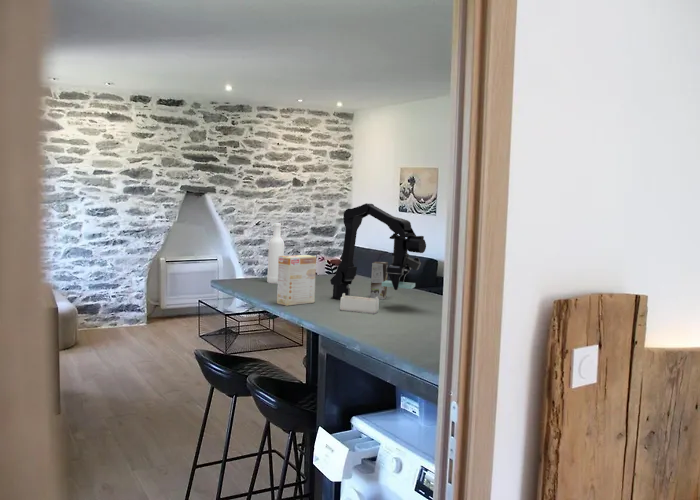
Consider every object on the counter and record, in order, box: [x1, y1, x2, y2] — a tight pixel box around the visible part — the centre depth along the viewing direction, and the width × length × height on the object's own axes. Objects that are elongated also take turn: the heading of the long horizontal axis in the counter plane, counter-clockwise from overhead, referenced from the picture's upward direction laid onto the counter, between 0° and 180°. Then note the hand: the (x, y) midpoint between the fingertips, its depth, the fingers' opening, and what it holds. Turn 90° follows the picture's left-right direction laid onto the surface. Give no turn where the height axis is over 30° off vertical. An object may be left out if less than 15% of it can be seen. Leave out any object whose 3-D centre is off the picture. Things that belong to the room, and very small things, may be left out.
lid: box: [382, 279, 416, 290], centre depth 251 cm, size 12×7×2 cm, turn 72°
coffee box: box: [369, 261, 389, 301], centre depth 276 cm, size 9×6×16 cm
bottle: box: [266, 222, 285, 285], centre depth 308 cm, size 8×8×30 cm
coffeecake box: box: [276, 254, 317, 307], centre depth 252 cm, size 15×7×20 cm, turn 134°
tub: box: [339, 293, 380, 315], centre depth 242 cm, size 14×6×6 cm, turn 72°
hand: (398, 288), depth 251 cm, fingers closed on lid, 7 cm apart
